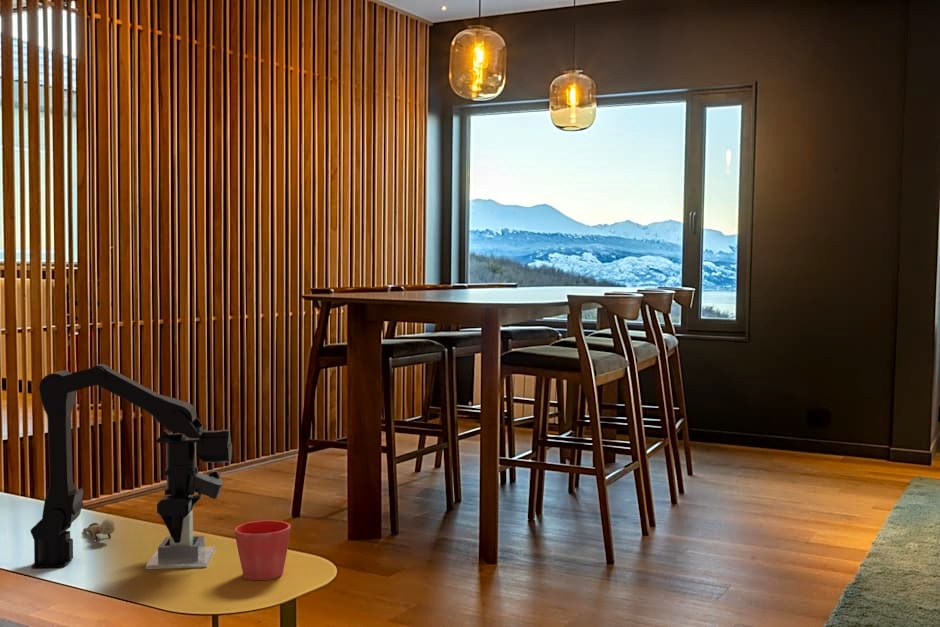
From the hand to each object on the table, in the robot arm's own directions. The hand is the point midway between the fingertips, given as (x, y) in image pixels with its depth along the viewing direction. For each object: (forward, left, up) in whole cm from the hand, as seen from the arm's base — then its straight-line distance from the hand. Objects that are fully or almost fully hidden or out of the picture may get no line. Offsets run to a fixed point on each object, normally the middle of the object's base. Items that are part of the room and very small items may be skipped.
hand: (181, 536), depth 195 cm
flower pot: (+18, -12, -5) cm, 22 cm away
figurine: (-22, +19, -5) cm, 29 cm away
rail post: (0, 0, -4) cm, 4 cm away
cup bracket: (0, 0, -5) cm, 5 cm away
